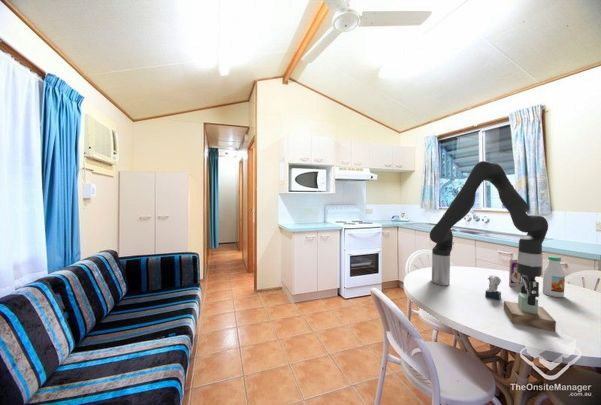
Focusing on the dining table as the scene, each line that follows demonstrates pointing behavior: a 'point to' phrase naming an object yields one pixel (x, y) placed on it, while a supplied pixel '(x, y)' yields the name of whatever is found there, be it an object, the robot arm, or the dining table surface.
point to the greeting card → (513, 273)
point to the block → (524, 305)
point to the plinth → (529, 317)
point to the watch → (493, 288)
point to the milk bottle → (553, 278)
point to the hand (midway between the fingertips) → (527, 300)
